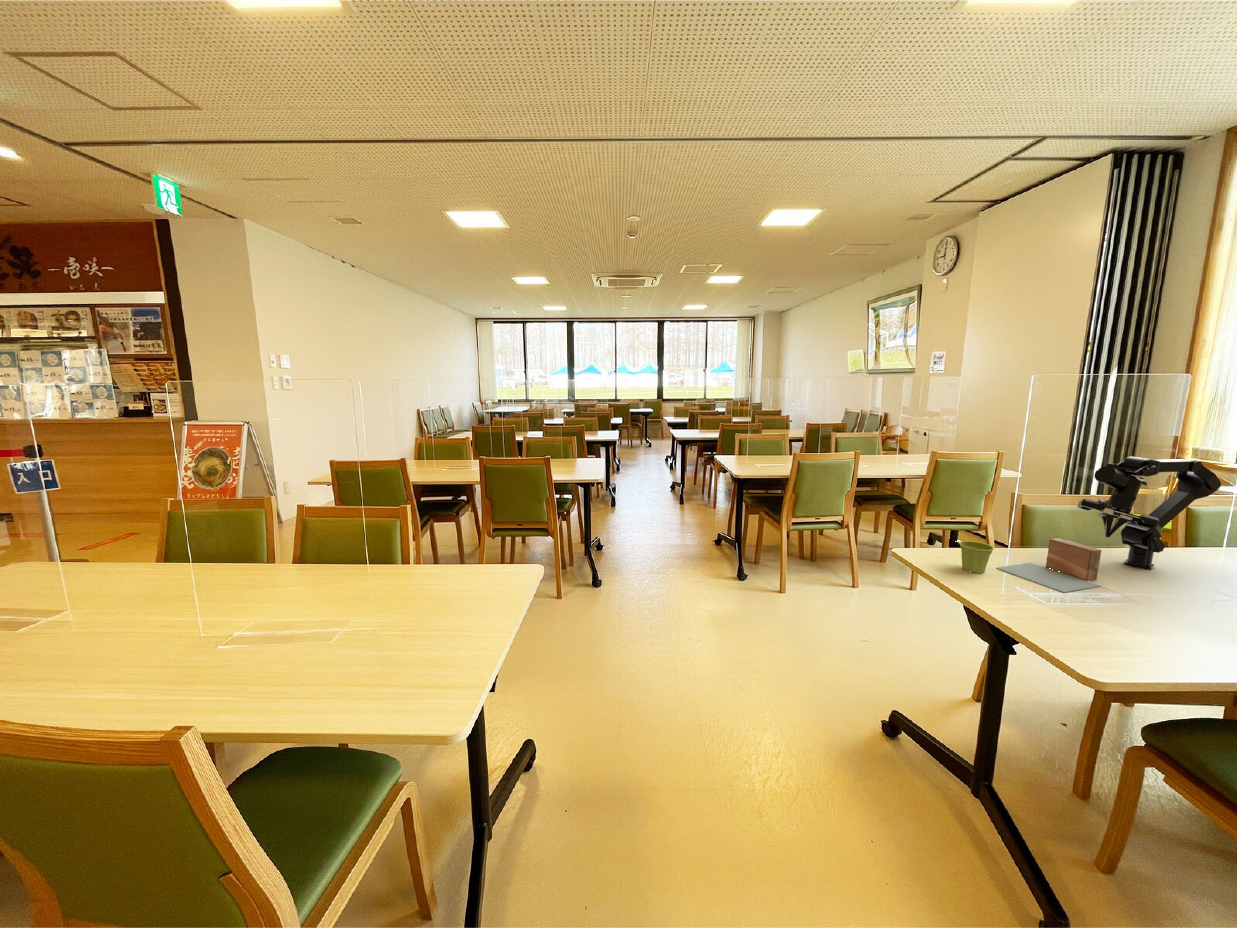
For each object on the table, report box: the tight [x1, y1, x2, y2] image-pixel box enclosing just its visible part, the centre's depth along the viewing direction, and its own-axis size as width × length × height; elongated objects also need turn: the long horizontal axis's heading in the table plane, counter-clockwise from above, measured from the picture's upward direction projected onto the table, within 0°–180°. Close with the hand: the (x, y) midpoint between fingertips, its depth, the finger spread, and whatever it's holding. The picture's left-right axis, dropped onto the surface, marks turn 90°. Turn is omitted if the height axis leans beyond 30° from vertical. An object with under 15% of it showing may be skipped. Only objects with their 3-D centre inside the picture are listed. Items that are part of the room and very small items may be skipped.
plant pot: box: [958, 540, 995, 574], centre depth 163 cm, size 9×9×9 cm
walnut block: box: [1045, 537, 1102, 582], centre depth 160 cm, size 4×12×10 cm, turn 16°
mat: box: [996, 562, 1102, 594], centre depth 158 cm, size 16×20×1 cm
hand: (1106, 537), depth 162 cm, fingers closed
